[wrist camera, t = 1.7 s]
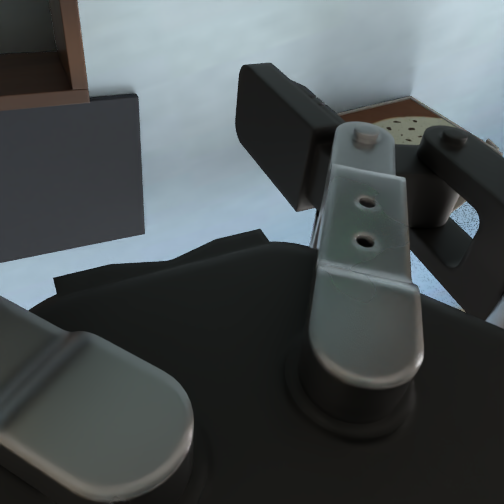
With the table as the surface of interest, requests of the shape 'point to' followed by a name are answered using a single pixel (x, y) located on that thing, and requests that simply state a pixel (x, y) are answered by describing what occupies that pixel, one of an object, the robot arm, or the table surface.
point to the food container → (405, 122)
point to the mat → (70, 176)
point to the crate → (48, 67)
